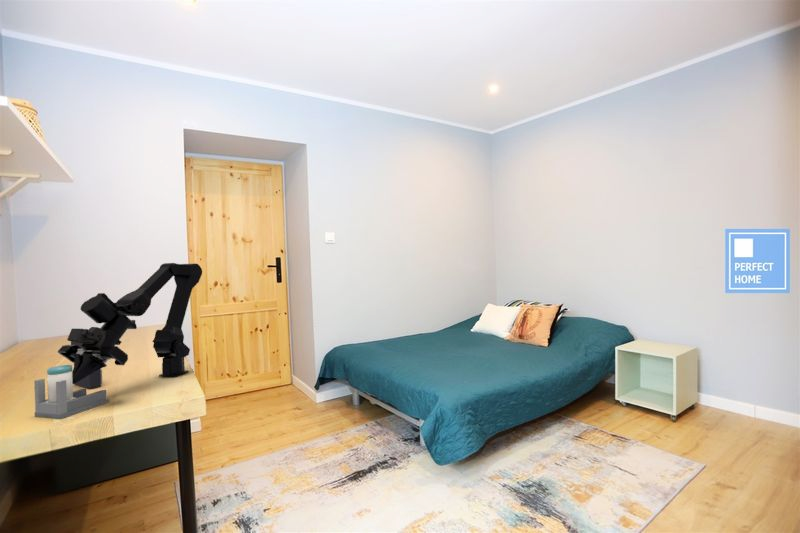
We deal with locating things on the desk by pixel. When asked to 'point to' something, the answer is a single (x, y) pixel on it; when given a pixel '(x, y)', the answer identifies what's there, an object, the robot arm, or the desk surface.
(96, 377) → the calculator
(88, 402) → the mount
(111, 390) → the desk surface
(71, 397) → the teal-lidded white jar
